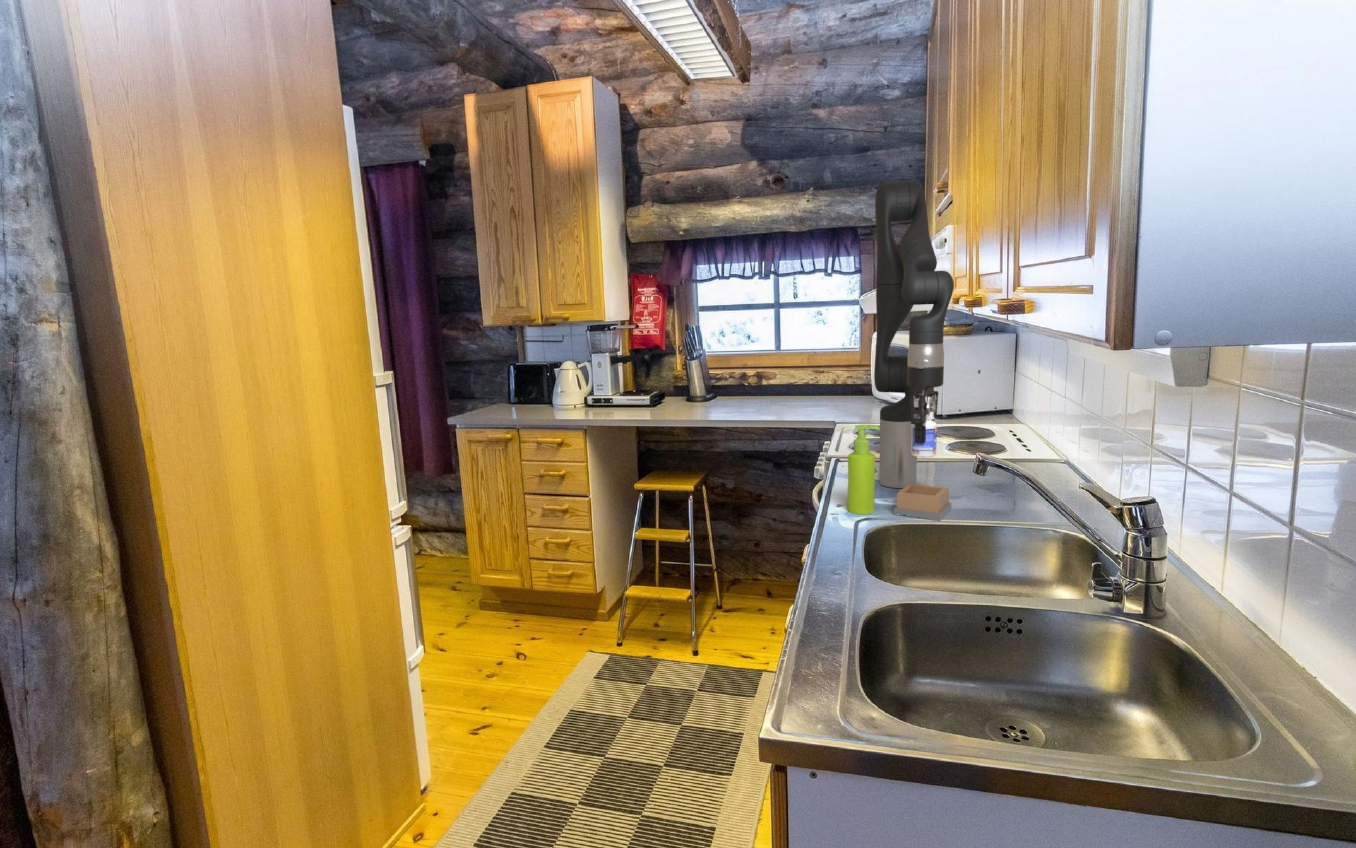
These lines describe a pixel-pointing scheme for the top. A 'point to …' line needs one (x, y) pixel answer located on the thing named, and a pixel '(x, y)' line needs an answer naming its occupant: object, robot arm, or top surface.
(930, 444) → the pill bottle
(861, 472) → the soap dispenser
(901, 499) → the box
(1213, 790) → the top surface
